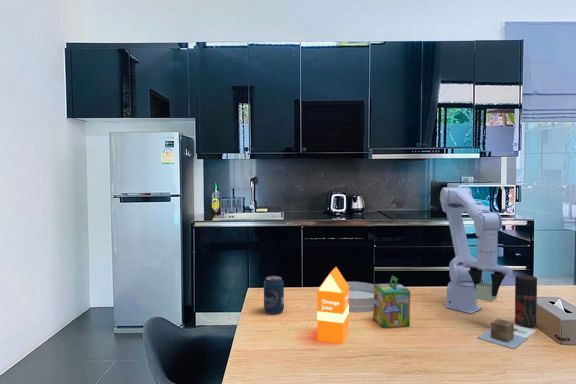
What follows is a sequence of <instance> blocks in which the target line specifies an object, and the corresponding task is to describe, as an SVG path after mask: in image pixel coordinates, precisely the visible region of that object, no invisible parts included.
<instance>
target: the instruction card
mask: <svg viewBox="0 0 576 384" xmlns="http://www.w3.org/2000/svg"><path fill="white" fill-rule="evenodd" d="M536 332H537V330H536V329H533V328H527V327H522V326H519V325H517V324H514V335H518V336H522V337H525V338H528V337H530V336H532V335H533V334H534V333H536Z"/></svg>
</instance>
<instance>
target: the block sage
mask: <svg viewBox="0 0 576 384" xmlns="http://www.w3.org/2000/svg"><path fill="white" fill-rule="evenodd" d="M497 296H498V295H497ZM497 296H492V283H488V282H483V281H481V283H479V284H476V299H477V300H480V301H483V302H484V301H485V302H488V303H492V302H494V301H496V300H497Z"/></svg>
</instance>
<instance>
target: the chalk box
mask: <svg viewBox="0 0 576 384" xmlns="http://www.w3.org/2000/svg"><path fill="white" fill-rule="evenodd" d="M398 280H399V278H397V277H396V276H394V275H391V277H390V280H389V283H375V284H374V283H373V284H374V308H373V311H372V317H373V318H374V320H375V321H376V322H377V323H378V324H379V325H380V326H381V327H382V329H383V328H396V327H397V328H399V327H400V328H401V327H403V328H404V327H410V324H411V323H410V322H411V321H410V320H411V318H410V317H411V316H410V314H411V291H410V290H409V289H408V287H405V286H404V285H403V284H401V283H398ZM393 281H394V283H393Z"/></svg>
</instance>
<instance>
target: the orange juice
mask: <svg viewBox="0 0 576 384" xmlns="http://www.w3.org/2000/svg"><path fill="white" fill-rule="evenodd" d="M347 282H348V281H346V279H345V278H344V277H343V275H342V274H341V272H340V270H339V269H338V266H335V267H334V268H333V269H332V270H331V271H330V273H329V274H328V275H327V277H326V278H325V279H324V281H323V282H322V284H321V285H319V288H318V289H317V290H316V292H317V293H316V296H317V297H316V301H317V302H316V303H317V304H316V306H317V307H316V309H317V310H316V321H317V325H316V326H317V327H316V332H317V334H316V337H317V341H321V342H326V343H327V342H328V343H335V344H344V343H345V340H346V339H347V336H348V334H349V331H350V330H349V328H350V326H349V322H350V320H349V319H350V318H349V315H350V314H349V313H350V312H349V285H348V284H347Z"/></svg>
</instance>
